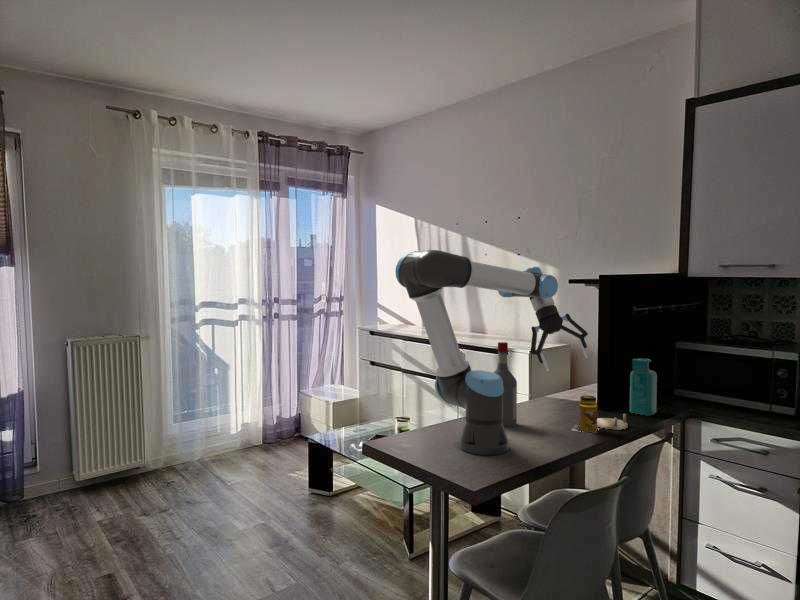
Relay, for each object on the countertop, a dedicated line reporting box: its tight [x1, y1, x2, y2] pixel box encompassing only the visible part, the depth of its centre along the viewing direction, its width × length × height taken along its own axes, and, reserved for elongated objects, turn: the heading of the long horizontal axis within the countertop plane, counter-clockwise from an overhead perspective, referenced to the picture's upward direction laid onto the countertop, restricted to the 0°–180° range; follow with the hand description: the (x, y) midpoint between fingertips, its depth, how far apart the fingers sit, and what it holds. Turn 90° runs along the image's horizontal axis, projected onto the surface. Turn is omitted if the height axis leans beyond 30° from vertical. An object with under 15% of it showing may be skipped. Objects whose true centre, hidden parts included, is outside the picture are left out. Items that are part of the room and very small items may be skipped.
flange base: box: [597, 413, 629, 431], centre depth 192 cm, size 12×12×4 cm
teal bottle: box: [629, 358, 658, 417], centre depth 210 cm, size 10×8×22 cm
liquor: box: [493, 341, 518, 428], centre depth 193 cm, size 9×9×30 cm
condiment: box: [570, 394, 600, 433], centre depth 186 cm, size 7×8×12 cm
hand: (567, 364), depth 180 cm, fingers open, 13 cm apart
